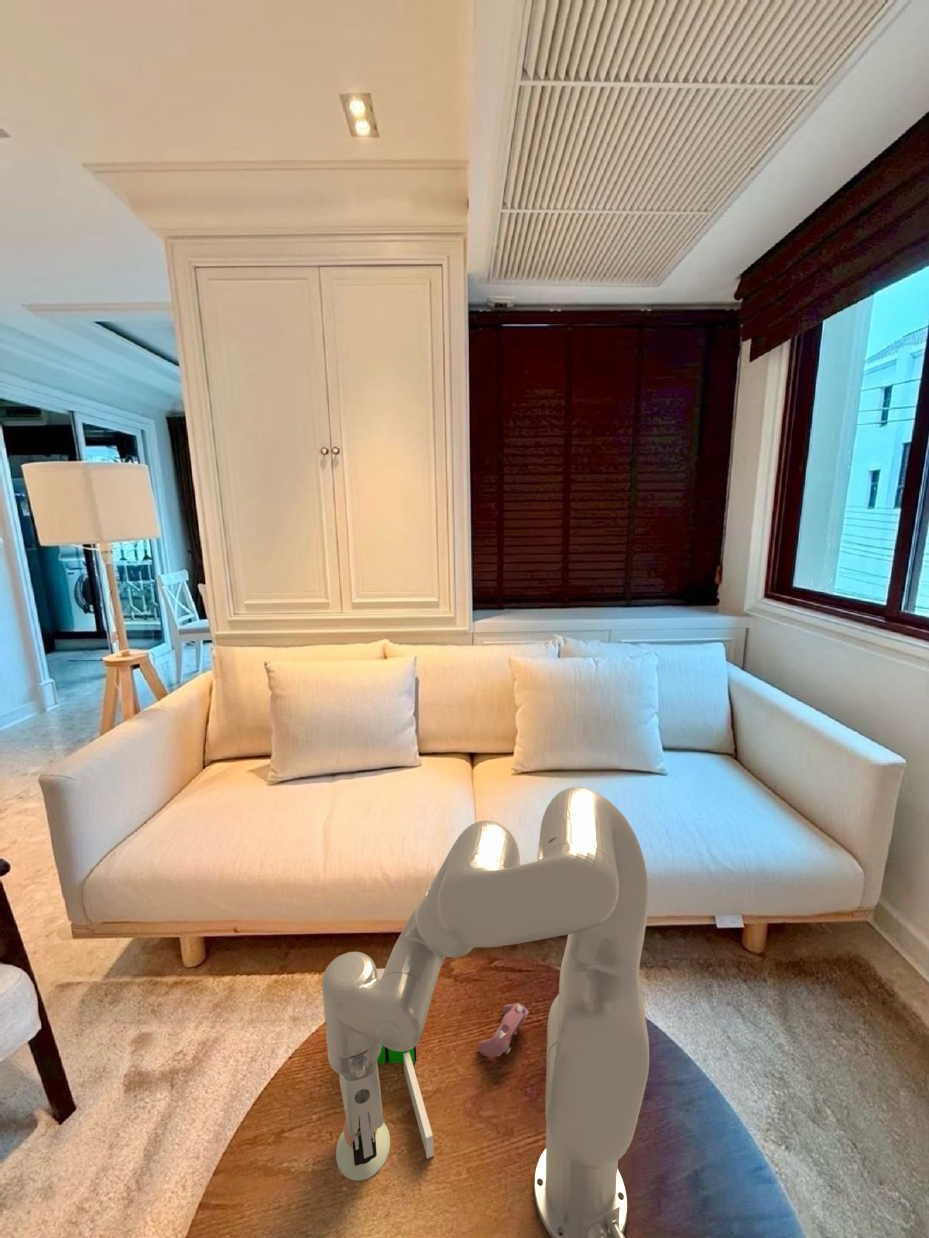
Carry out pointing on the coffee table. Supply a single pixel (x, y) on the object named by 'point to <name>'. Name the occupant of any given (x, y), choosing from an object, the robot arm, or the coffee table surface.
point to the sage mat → (369, 1169)
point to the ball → (348, 1138)
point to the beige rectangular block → (418, 1105)
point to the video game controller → (504, 1031)
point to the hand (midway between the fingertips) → (361, 1136)
